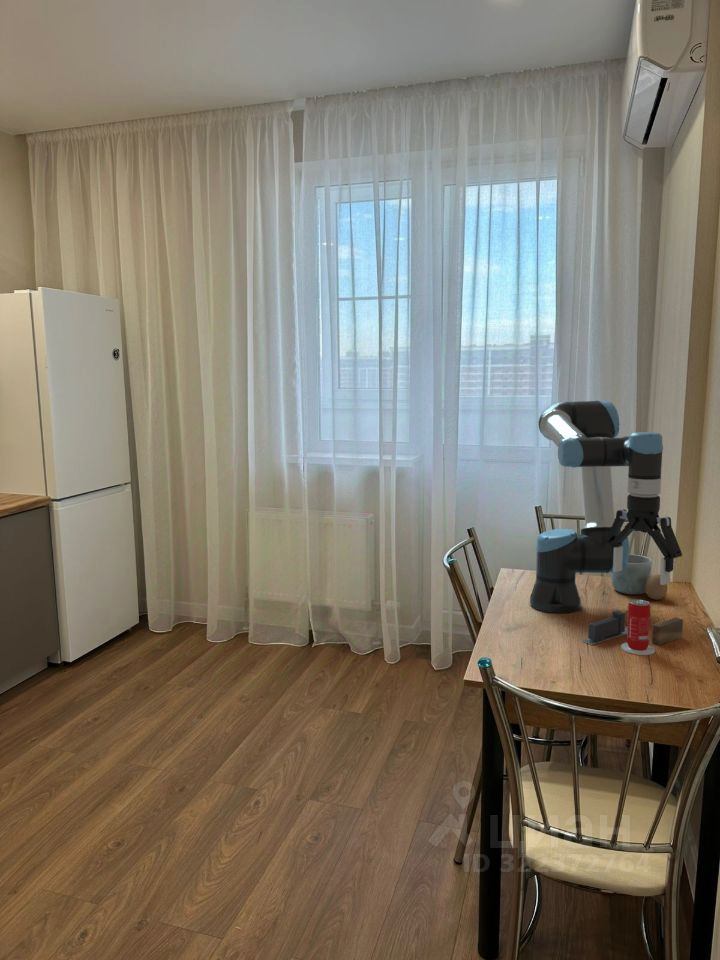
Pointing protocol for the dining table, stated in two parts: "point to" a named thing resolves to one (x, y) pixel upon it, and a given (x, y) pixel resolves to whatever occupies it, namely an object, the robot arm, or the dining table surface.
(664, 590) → the egg
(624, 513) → the robot arm
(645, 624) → the beverage can
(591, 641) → the rail
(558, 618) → the dining table surface
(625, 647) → the coaster
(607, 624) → the dark grey block
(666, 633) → the block
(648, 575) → the planter
